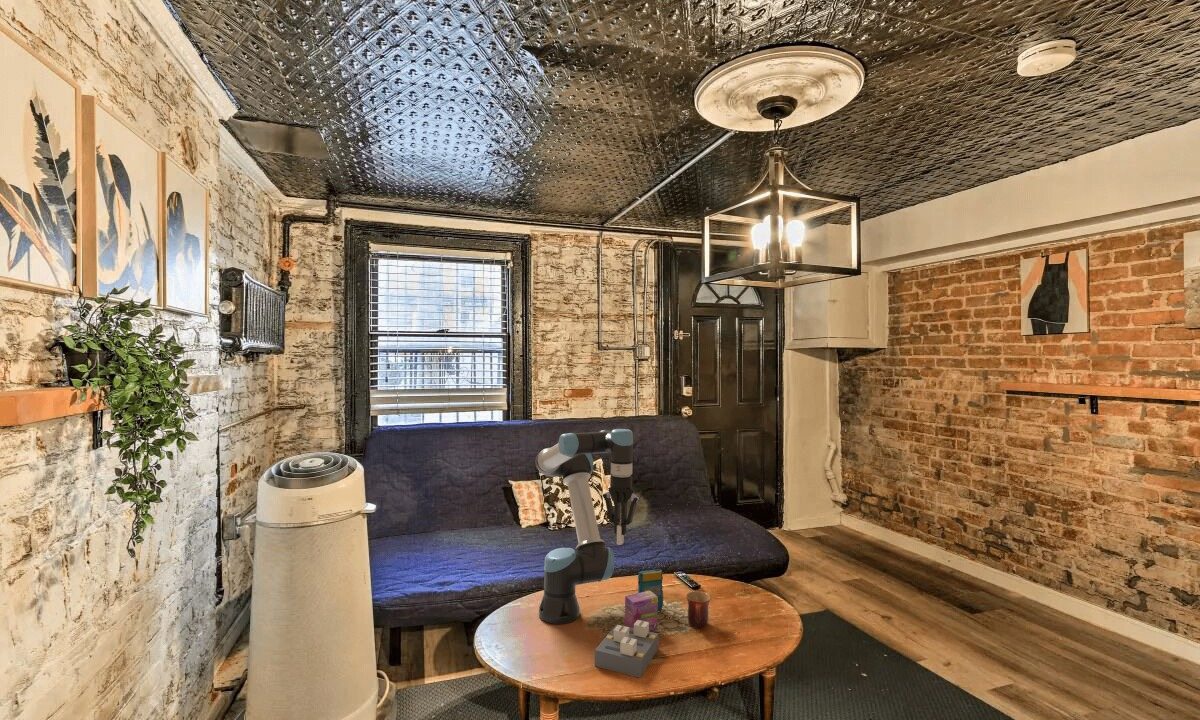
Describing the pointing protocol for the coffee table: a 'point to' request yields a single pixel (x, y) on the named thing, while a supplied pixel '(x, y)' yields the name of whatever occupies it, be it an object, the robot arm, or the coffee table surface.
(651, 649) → the switch unit
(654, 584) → the teal carton
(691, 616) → the mug
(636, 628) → the slider
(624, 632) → the slider
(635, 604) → the box
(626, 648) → the slider
